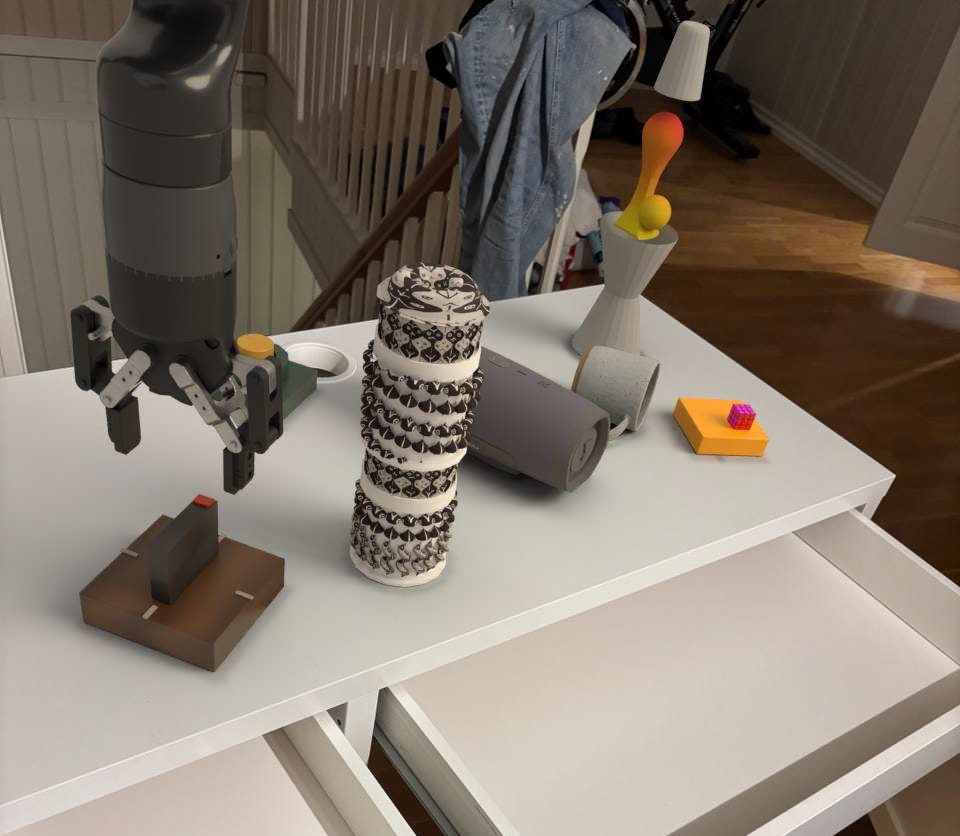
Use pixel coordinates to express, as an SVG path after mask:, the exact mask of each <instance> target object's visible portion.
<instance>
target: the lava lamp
mask: <svg viewBox="0 0 960 836" xmlns="http://www.w3.org/2000/svg"><path fill="white" fill-rule="evenodd" d="M710 35H711V31H710V28H709V27H708V25H705V24H703V23H701V22H698V21H693V20H684V21H682V22H681V23H680V24H679V25H678V27H677V30H676V32H675V35H674V37H673V39H672V42H671V44H670V47H669V49H668V51H667V53H666V56H665V58H664V61H663V64H662V66H661V68H660V71H659V74H658V76H657V78H656V81H655V83H654V86H653V89H654V90H655V91H656V92H657V93H659V94H661V95H663V96H666V97H668V98H672V99H674V100H676V99H677V100H679V101H680V100H681V101H687V102H696V101H700V100H701V95H702V89H703V82H704V77H705V76H704V75H705V69H706V62H707V56H708V49H709V43H710V37H711V36H710ZM641 133H642V136H641V142H642V143H641V146H642V149H641V152H642V154H641V155H642V156H641V157H642V161H641V162H642V163H641V171H640V175H639V178H638V183H637V186H636V189H635V191H634V193H633V195H632V198H631V200H630V202H629V204H627V207H626V208H625V209H624V210H620V211H619V210H618V211H617V210H616V211H609V212H607V213H604V214H602V216H601V217H600V235H601V251H602V266H603V280H604V287H603V288H602V290H601V292H600V293H599V295H598V297H597V298H596V300H595V302H594V303H593V305H592V307H591V308H590V310H589V311H588V313H587V315H586V316H585V318H584V320H583V321H582V323H581V325H580V326H579V327H578V329H577V331H576V333H575V334H574V336H573V337H572V339H571V347H572V348H573V349H574V352H576V353H577V354H578V355H579V356H580V357H582V355H583V354H584V352H585V351H586V350H587V349H588V348H589V347H591V346H604V347H609V348H613V349H616V350H620V351H624V352H628V353H632V354H636V355H640V356H641V315H640V314H641V307H640V306H641V305H640V304H641V303H640V296H641V295H642V293H643V292H644V290H645V289H646V287H647V286H648V284H649V283H650V281H651V280H652V278H653V277H654V276H655V274H656V273H657V271H658V270H659V268H660V267H661V266H662V264H663V263H664V261H665V260H666V258H667V257H668V255H669V254H670V253H671V252H672V250H673V248H674V247H675V246H676V244H677V243H678V240H679V233H678V231H677V230H676V229H675V228H674V227H673V226H671V225H670V224H668V223H669V221H670V219H671V217H672V207H671V204H670V201H669V200H668V199H667V198H666V197H664V196H662V195H660V194H655V191H656V188H657V186H658V182H659V179H660V177H661V175H662V174H663V172H664V170H665V168H666V166H667V165H668V163H669V161H670V160H671V159H672V158H673V156H674V155H675V154H676V153H677V151H678V149H679V148H680V146H681V145H682V142H683V140H684V126H683V124H682V121H681V119H680V118H679V117H678V116H677V115H676V114H674V113H672V112H670V111H669V112H668V111H660V112H657V113H655V114H653V115H652V116H651V117H649V118H648V120H647V121H646V122H645V123H644V126H643V128H642V132H641Z"/></svg>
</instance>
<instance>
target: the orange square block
mask: <svg viewBox="0 0 960 836" xmlns="http://www.w3.org/2000/svg"><path fill="white" fill-rule="evenodd" d="M672 415H673V417H674V418H675V421H676V422H677V424H678V425H679V427H680V429H681V431H682V432H683V433H684V435H685V437H686V439H687V440H688V442H689V443H690V445H691V447H692V448H693V450H694V452H695V453H696V455H719V456H745V457H746V456H747V457H748V456H749V457H750V456H751V457H762V456H763V455H764V453H765V450H766V448H767V446H768V444H769V441H770V438H769V437H768V435H767V434H766V432H765V431H764V430H763V428H762V426H761V425H760V424H759V422H758V421H757V420H756V419H755V418H756V416H757V413H756V412H755V410H754V409H753V408H752V406H751V404H745V402H744V401H743V400H742V399H741V400H740V399H739V400H738V399H722V398H721V399H720V398H699V397H678V398H677V401H676V404H675V406H674V410H673V412H672Z"/></svg>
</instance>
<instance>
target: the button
mask: <svg viewBox="0 0 960 836" xmlns="http://www.w3.org/2000/svg"><path fill="white" fill-rule="evenodd" d="M236 341H237V348H238V350H239V352H240V355H244V356H247V357H251V358H254V359H258V360H264V359H265V358H266V357H267V356H269V355H272V356H274V344H275V342H274V340H272V338H270V337H268V336H267V335H264V334H259V333H247V334H243V335H240V336H239V337H238V338H237V339H236Z"/></svg>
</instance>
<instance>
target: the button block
mask: <svg viewBox="0 0 960 836" xmlns="http://www.w3.org/2000/svg"><path fill="white" fill-rule="evenodd" d="M235 343H236V346H237V340H235ZM274 356H275V357H277V358H278V359H279V361H280V362H281V365H282V398H283V421H284V420H286V418H287V417H288V416H289V415H291V414H292V413H293V412H294V411H295V410H296V409H297V408H298V407H299V406H300V405H301V404H302V403H303V402H304V401H305V400H306V399H307V398H308V397H309V396H310V395H311V394H312V393H313V392H314V391H315V390H317V385H318V369H316V368H313V367H310V366H308V365H306V364H302V363H298V362H295V361H292V360H289V359H290V358H289V352H288V351H286V349H284V348H283V347H282V346H281V345H280V344H278V343H274ZM233 377H234V379H235V380H236V382H237V383H238V385H239V387H240V388H242V384H241V381H240V379H239V377H238V376H237V375H235V374H233ZM244 395H245V406H246V408H247V409H248V404H247V394H244ZM211 398H212V399H213V401H217V402H218V403H219V402H220V401H221V400H222V393H221V391H220V390H219V389H218V390H217V391H216V392H215V393H214V394H213V395H212V396H211Z"/></svg>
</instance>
